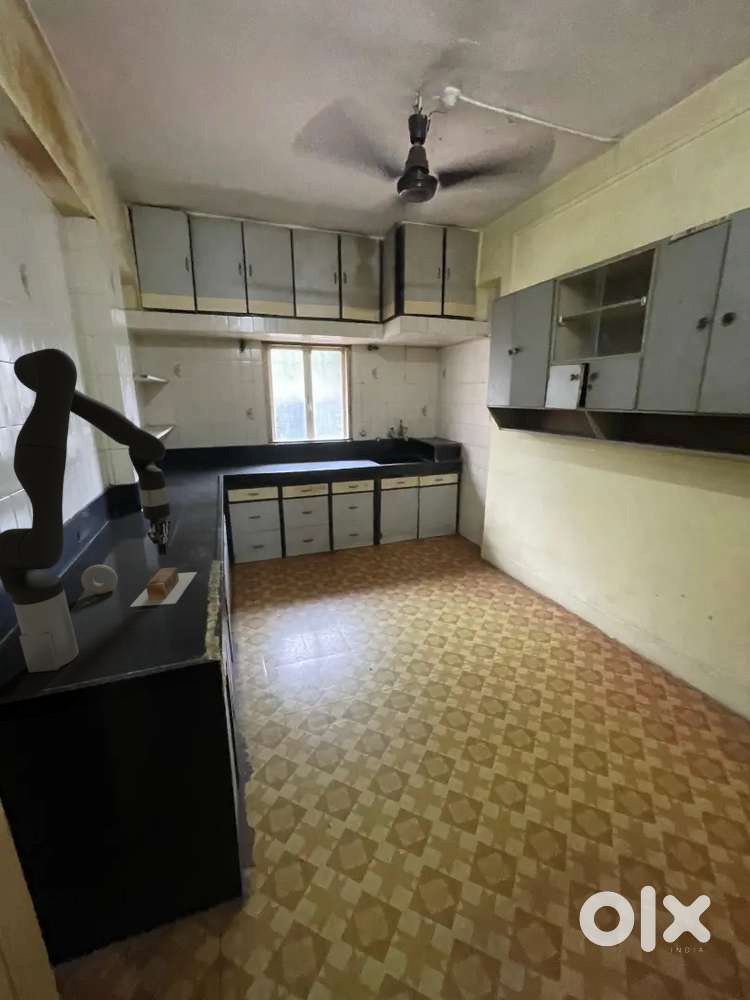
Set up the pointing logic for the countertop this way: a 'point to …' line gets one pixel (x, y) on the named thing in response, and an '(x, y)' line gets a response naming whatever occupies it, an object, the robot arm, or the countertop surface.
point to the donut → (95, 587)
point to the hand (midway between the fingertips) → (163, 553)
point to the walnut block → (162, 583)
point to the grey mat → (172, 597)
